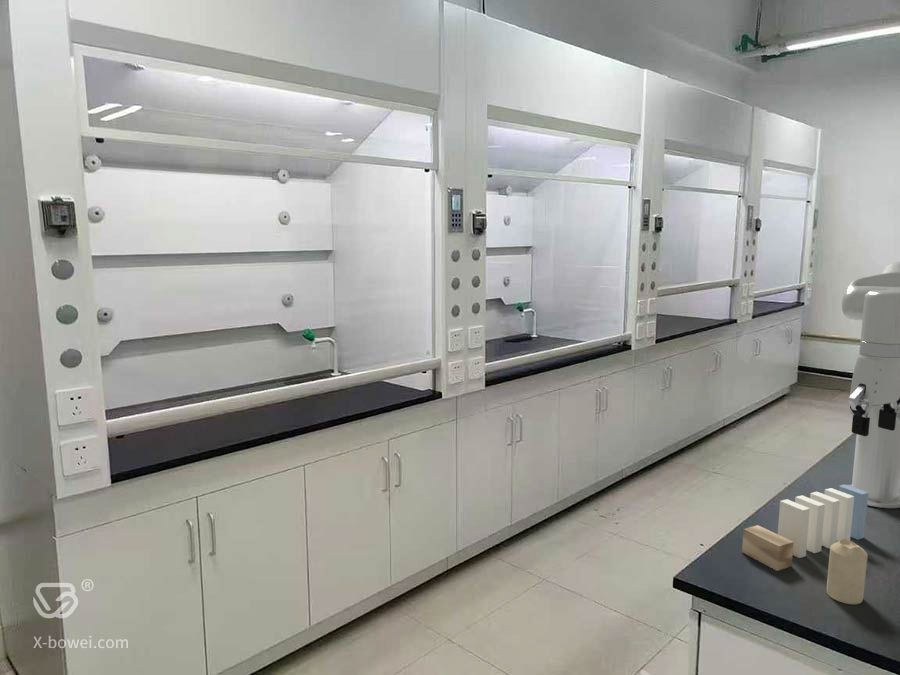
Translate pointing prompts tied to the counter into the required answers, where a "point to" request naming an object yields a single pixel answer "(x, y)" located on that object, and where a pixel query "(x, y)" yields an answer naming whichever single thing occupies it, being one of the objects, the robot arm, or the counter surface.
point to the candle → (846, 572)
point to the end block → (767, 547)
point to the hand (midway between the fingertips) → (873, 431)
